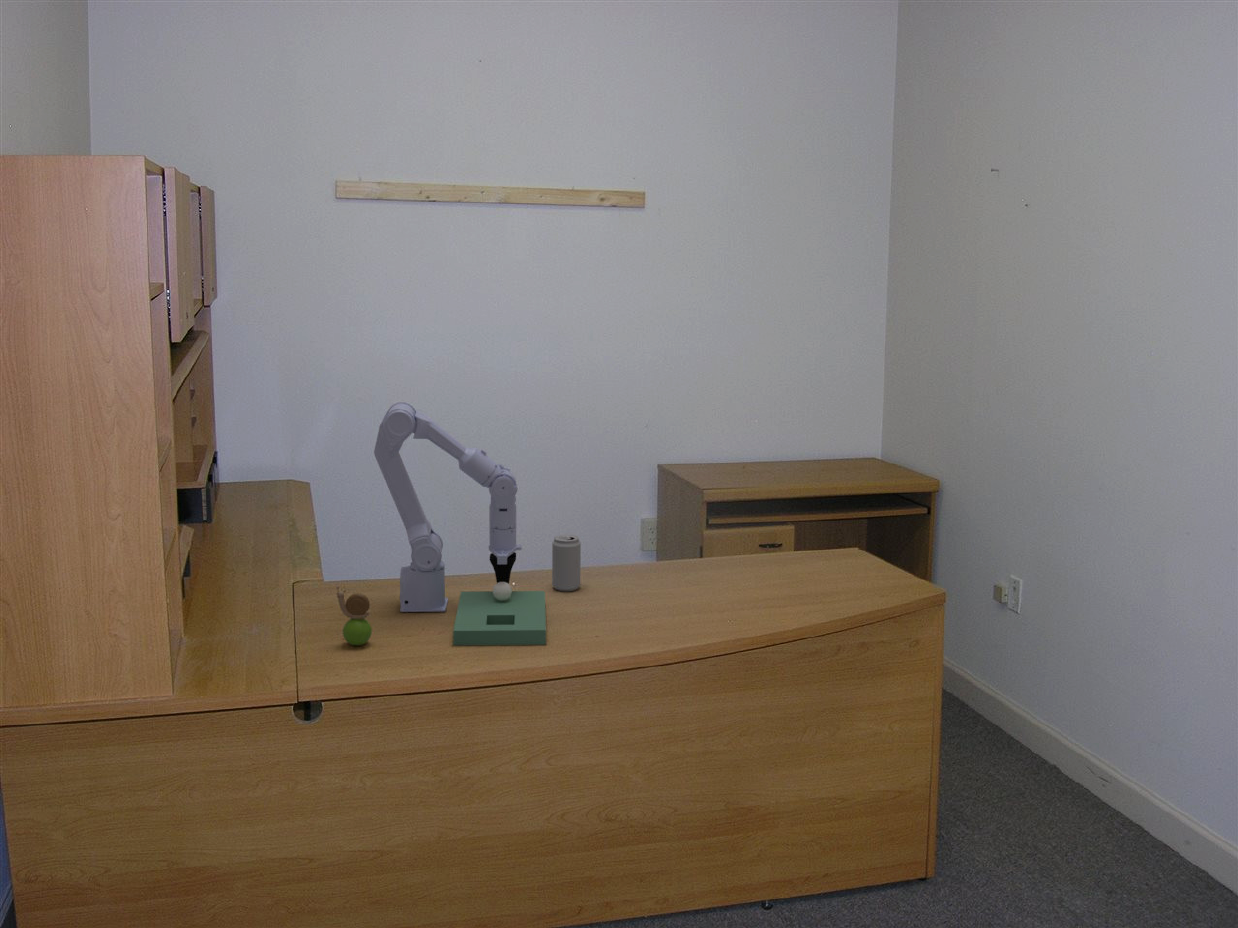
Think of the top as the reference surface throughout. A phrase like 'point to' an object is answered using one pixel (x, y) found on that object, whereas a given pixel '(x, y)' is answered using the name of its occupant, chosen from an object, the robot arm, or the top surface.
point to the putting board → (500, 619)
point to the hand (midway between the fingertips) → (503, 586)
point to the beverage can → (566, 562)
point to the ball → (502, 591)
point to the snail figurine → (355, 618)
